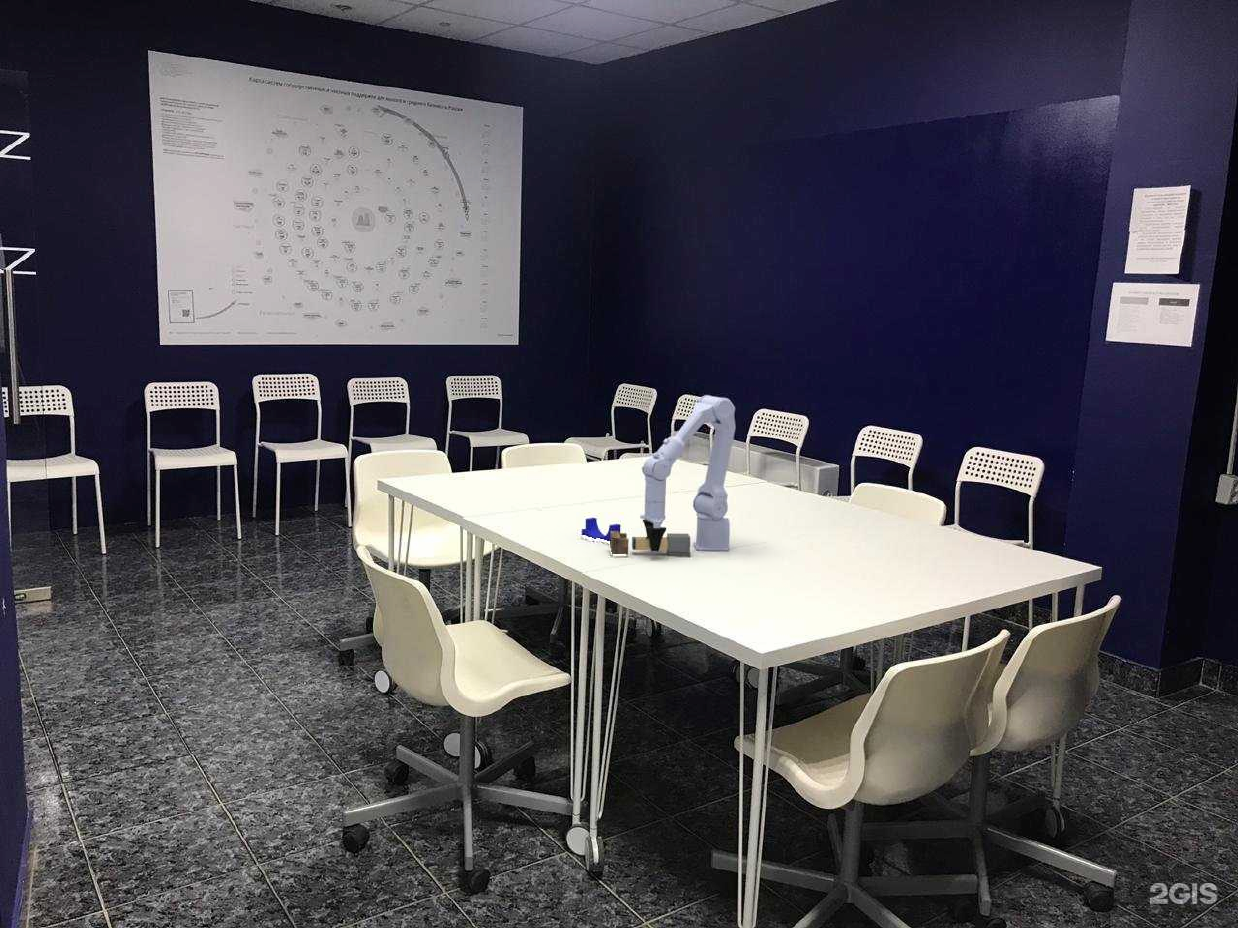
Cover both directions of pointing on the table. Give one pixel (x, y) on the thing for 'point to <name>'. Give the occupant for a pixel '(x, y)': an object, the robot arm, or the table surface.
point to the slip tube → (648, 543)
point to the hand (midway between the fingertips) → (653, 547)
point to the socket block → (618, 543)
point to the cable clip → (594, 531)
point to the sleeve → (679, 545)
